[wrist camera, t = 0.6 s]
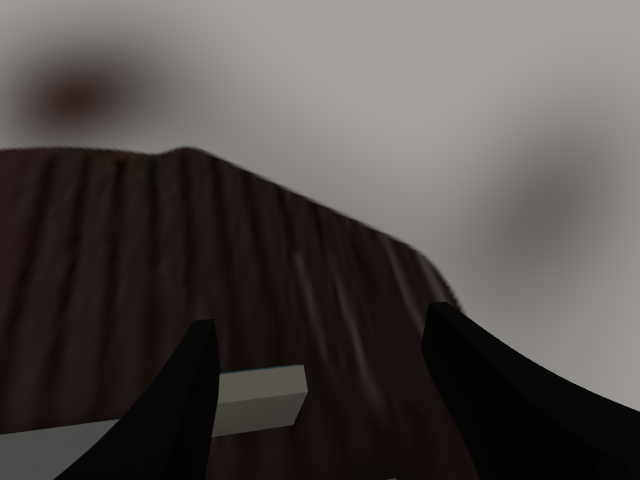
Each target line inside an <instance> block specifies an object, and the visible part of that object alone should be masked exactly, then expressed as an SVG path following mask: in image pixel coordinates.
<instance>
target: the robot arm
mask: <svg viewBox="0 0 640 480" xmlns="http://www.w3.org/2000/svg"><path fill="white" fill-rule="evenodd" d="M421 351H422V353H423V356H424V359H425V362H426V365H427V368H428V370H429V373H430V375H431V377H432V379H433V382H434V383H435V385H436V387H437V389H438V391H439V393H440V395H441V397H442V399H443V401H444V403H445V405H446V407H447V409H448V411H449V412H450V414H451V416H452V418H453V420H454V422H455V424H456V426H457V428H458V430H459V432H460V433H461V435H462V438H463V440H464V442H465V444H466V446H467V448H468V451H469V453H470V456H471V458H472V461H473V463H474V466H475V468H476V471H477V473H478V476H479V478H480V480H640V412H639V411H637V410H634V409H632V408H629V407H627V406H624V405H622V404H619V403H617V402H614V401H612V400H609V399H607V398H605V397H602V396H600V395H598V394H595V393H593V392H591V391H589V390H587V389H585V388H582V387H580V386H578V385H576V384H574V383H572V382H570V381H568V380H566V379H564V378H562V377H560V376H558V375H556V374H554V373H553V372H551V371H549V370H547V369H545V368H544V367H542V366H540V365H538V364H536V363H535V362H533V361H531V360H530V359H528V358H526V357H525V356H523V355H522V354H520V353H518V352H517V351H515V350H514V349H512V348H511V347H509V346H508V345H506V344H505V343H503V342H502V341H500V340H499V339H497V338H496V337H494V336H493V335H492V334H490V333H489V332H487V331H486V330H484V329H483V328H482V327H480V326H479V325H478V324H476V323H475V322H474V321H472V320H471V319H469V318H468V317H467V316H465V315H464V314H463V313H461V312H460V311H459V310H457V309H456V308H454V307H453V306H451V305H450V304H448V303H447V302H436V303H429V306H428V311H427V317H426V322H425V328H424V333H423V339H422V344H421ZM219 380H220V362H219V354H218V347H217V339H216V332H215V324H214V319H208V320H194V321H193V322H192V323H191V325H190V326H189V328H188V330H187V331H186V333H185V335H184V336H183V338H182V340H181V341H180V343H179V344H178V346H177V348H176V349H175V351H174V352H173V354H172V355H171V356H170V358H169V359H168V361H167V362H166V364H165V365H164V366H163V368H162V369H161V371H160V372H159V373H158V375H157V376H156V377H155V378H154V380H153V381H152V382H151V384H150V385H149V386H148V387H147V389H146V390H145V391H144V392H143V394H142V395H141V396H140V397H139V398H138V400H137V401H136V402H135V403H134V404H133V405H132V406H131V408H130V409H129V410H128V411H127V412H126V413H125V414H124V415H123V416H122V417H121V418H120V419H119V420H118V422H117V423H116V424H115V425H114V426H113V427H112V428H110V429H109V430H108V431H107V432H106V433H105V434H104V435H103V436H102V437H101V438H100V439H99V440H98V441H97V442H96V443H95V444H94V445H93V446H92V447H91V448H90V449H89V450H88V451H86V452H85V453H84V454H83V455H82V456H81V457H79V458H78V459H77V460H76V461H75V462H74V463H72V464H71V465H70V466H69V467H68V468H67V469H65V470H64V471H63V472H62V473H61V474H59V475H58V476H57V477H56V478H55V479H53V480H205V475H206V468H207V461H208V456H209V450H210V444H211V438H212V432H213V427H214V421H215V415H216V409H217V403H218V397H219Z"/></svg>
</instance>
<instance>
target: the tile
mask: <svg viewBox="0 0 640 480" xmlns="http://www.w3.org/2000/svg"><path fill="white" fill-rule="evenodd" d="M307 392H308V390H307V384H306V378H305V371H304V365H300V366H299V364H297V365H288V366H279V367H270V368H261V369H253V370H244V371H235V372H226V373H220V380H219V397H218V403H217V409H216V415H215V421H214V427H213V432H212V437H216V436H223V435H229V434H236V433H243V432H249V431H256V430H263V429H269V428H276V427H283V426H289V425H293V424H294V422H295V419H296V417H297V415H298V413H299V410H300V408H301V406H302V404H303V401H304V399H305V397H306V395H307Z"/></svg>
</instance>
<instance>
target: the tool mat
mask: <svg viewBox="0 0 640 480" xmlns="http://www.w3.org/2000/svg"><path fill="white" fill-rule="evenodd" d="M118 420H119V419H118ZM118 420H110V421H103V422H95V423H88V424H80V425H72V426H65V427H57V428H50V429H42V430H35V431H27V432H20V433H12V434H5V435H0V480H53V479H55V478H56V477H57V476H58V475H59V474H61V473H62V472H63V471H64V470H65V469H67V468H68V467H69V466H70V465H71V464H72V463H74V462H75V461H76V460H77V459H78V458H79V457H81V456H82V455H83V454H84V453H85V452H86V451H88V450H89V449H90V448H91V447H92V446H93V445H94V444H95V443H96V442H97V441H98V440H99V439H100V438H101V437H102V436H103V435H104V434H105V433H106V432H107V431H108V430H109V429H110V428H112V427H113V426H114V425H115V424H116V423H117V422H118Z"/></svg>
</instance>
